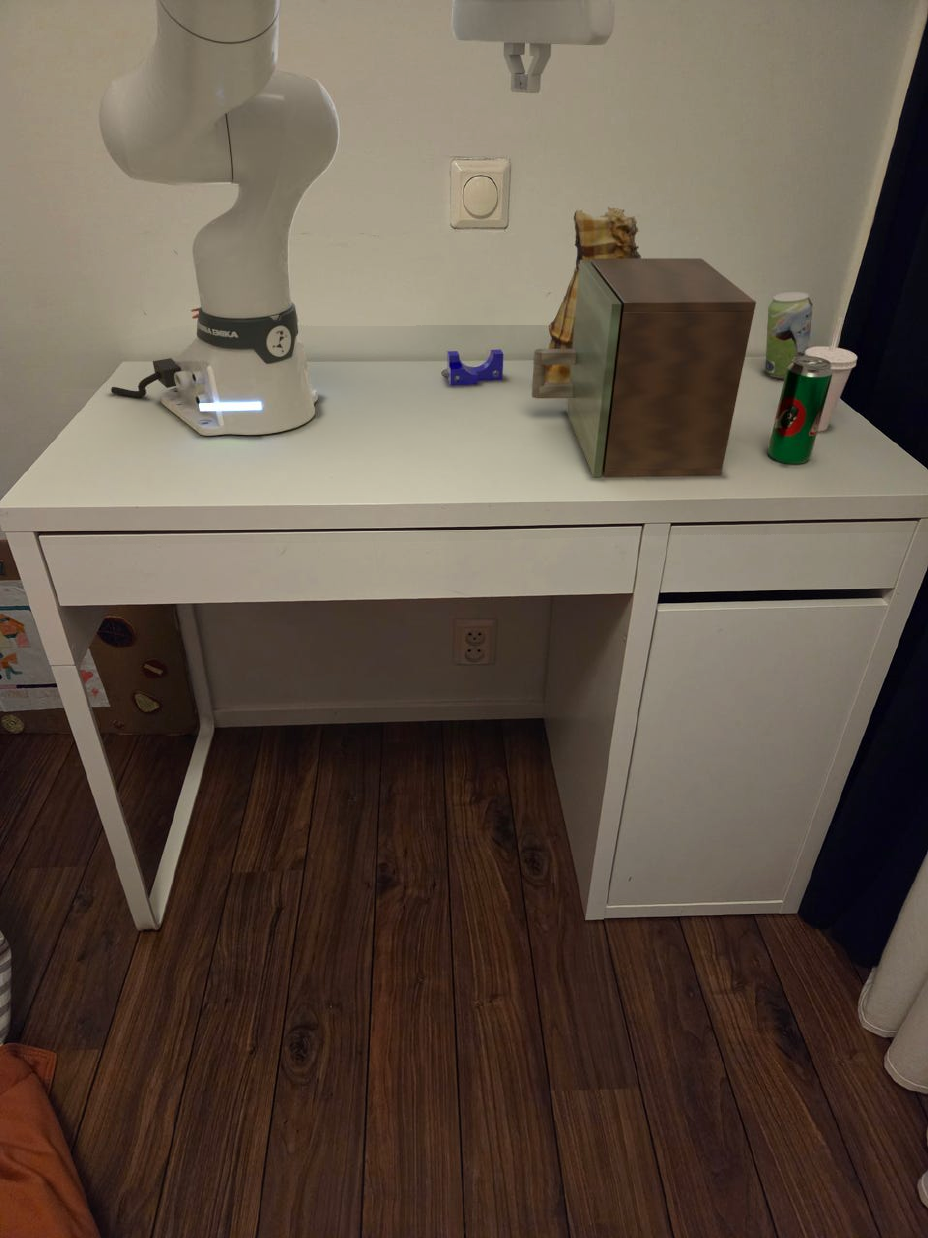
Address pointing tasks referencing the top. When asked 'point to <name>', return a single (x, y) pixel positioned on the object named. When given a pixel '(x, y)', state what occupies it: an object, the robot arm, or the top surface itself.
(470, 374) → the cable holder
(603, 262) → the cupboard
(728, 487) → the top surface
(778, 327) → the beverage can
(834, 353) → the smoothie
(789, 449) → the soda can
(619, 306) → the door
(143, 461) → the top surface
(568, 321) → the plaid cloth bag
